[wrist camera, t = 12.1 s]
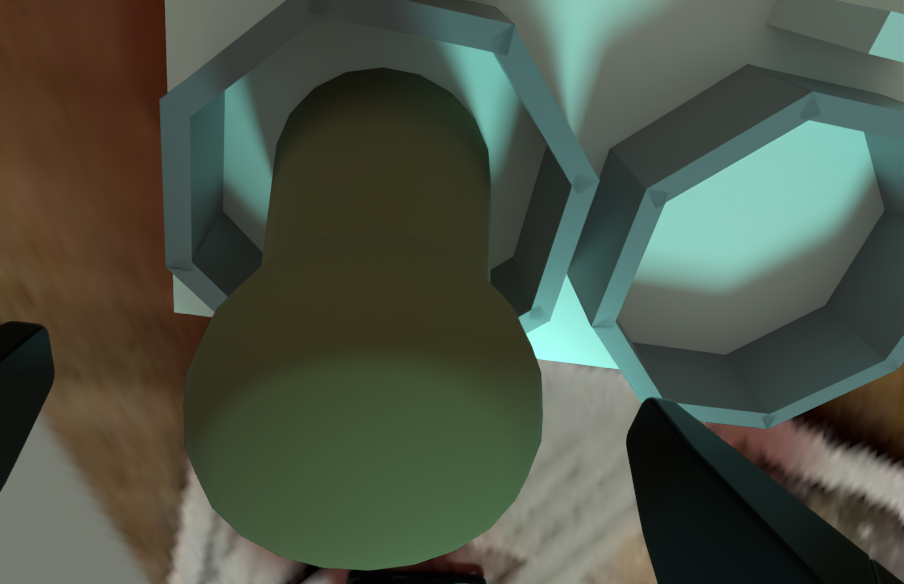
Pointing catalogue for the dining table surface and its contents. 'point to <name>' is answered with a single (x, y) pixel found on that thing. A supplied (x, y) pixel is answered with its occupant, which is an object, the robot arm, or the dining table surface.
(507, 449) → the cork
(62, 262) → the dining table surface
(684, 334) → the socket board
